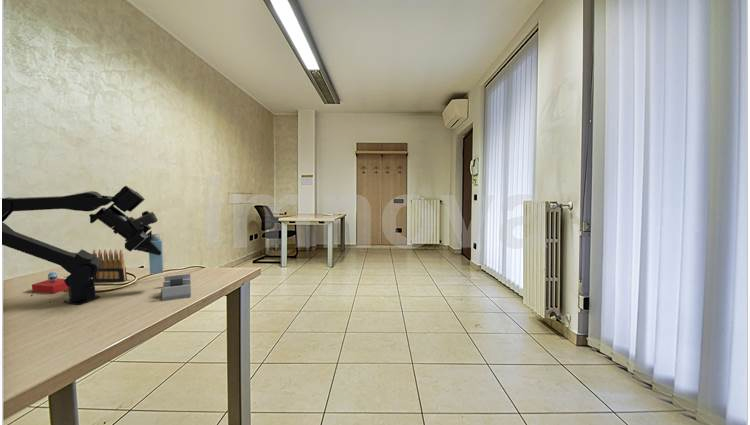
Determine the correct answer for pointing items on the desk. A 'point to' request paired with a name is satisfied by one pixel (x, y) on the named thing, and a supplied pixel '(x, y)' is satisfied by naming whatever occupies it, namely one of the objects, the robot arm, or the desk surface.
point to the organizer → (176, 287)
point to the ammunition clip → (111, 267)
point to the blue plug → (154, 259)
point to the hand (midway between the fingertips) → (160, 252)
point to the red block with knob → (50, 285)
